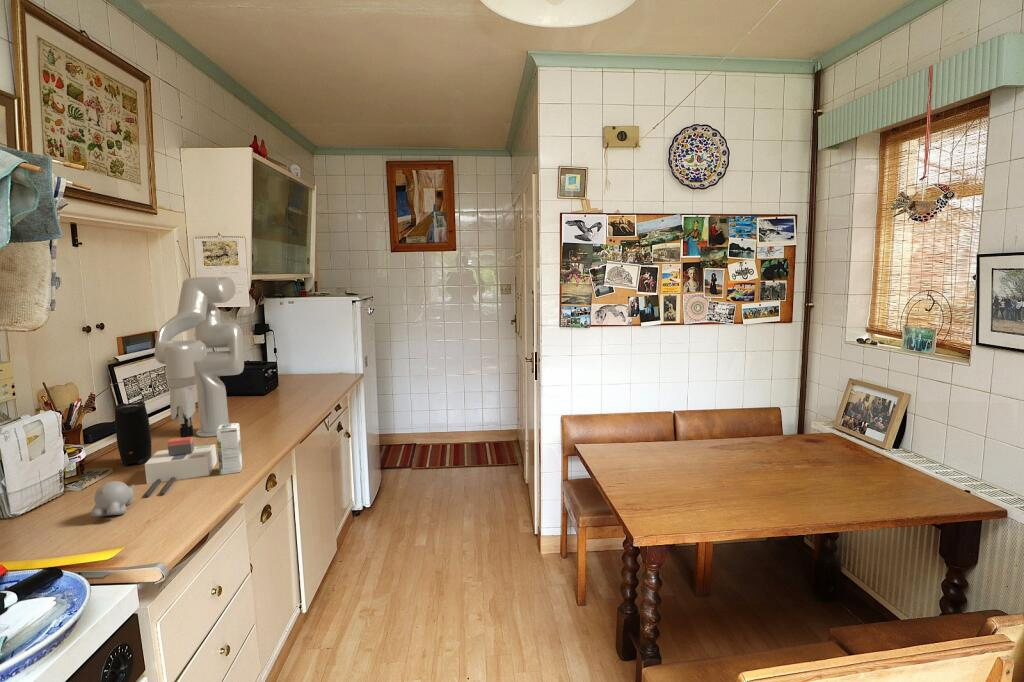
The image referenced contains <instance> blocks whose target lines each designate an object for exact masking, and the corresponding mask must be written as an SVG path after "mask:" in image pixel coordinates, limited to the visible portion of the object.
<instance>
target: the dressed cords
mask: <svg viewBox="0 0 1024 682" xmlns="http://www.w3.org/2000/svg"><path fill="white" fill-rule="evenodd" d="M175 481H176V480H175V477H172V478H171V479H170V480H169V481H167V483H166V484H165V485H164V487H163V488H162V489H161V490H160V492H159V494H160V495H161V496H164V495H165V494H166V493H167V492H168V490H169V488H170V487H171V486H172V485H173V483H174V482H175ZM161 483H162V482H161V479H157V480H156V482H155V483H152V485H151V486H150V487H149V489H148V490H147V491H146V493H145V494H144V497H145V498H149V497H150V496H151V495H152V494H153V493H154V491H155V489H157V487H158V486H159V485H160V484H161Z"/></svg>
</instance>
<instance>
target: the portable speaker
mask: <svg viewBox="0 0 1024 682" xmlns="http://www.w3.org/2000/svg"><path fill="white" fill-rule="evenodd" d="M114 415H115V416H114V426H115V427H114V428H115V436H116V442H117V449H118V453H119V457H120V461H121V465H122V466H125V467H128V466H129V465H131V464H136V463H137V464H138V465H142V464H145V463H146V462H147V461H148V460H149V459H150V458H151V457H152V435H151V434H152V433H151V428H150V427H151V426H150V419H149V415H148V412H147V408H146V402H144V401H137V402H132V403H125V402H124V403H119V404H117V405H115V406H114Z"/></svg>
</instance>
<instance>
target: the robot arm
mask: <svg viewBox="0 0 1024 682" xmlns="http://www.w3.org/2000/svg"><path fill="white" fill-rule="evenodd" d="M180 289H181V290H180V294H179V301H178V307H177V313H176V315H174V316H173V317H172V318H170V319H168V321H167V322H165V324H163V325H162V326H161V327H160V328H159V330H158V332H157V335H156V340H155V345H154V357H155V360H156V362H158V363H159V364H161V365H165V372H166V373H165V374H166V383H167V389H168V390H170V394H169V403H170V404H169V405H170V407H169V408H170V419H171V421H175V420H177V419H178V426H179V431H180V438H183V437H193V438H194V436H195V435H194V426H193V415H194V414H195V413H196V410H197V409H196V398H195V390H194V387H196V394H197V395H196V396H197V406H198V413H199V414H198V415H199V423H200V424H199V426H200V428H199V429H198V430H196V432H195V433H196V436H197V437H203V438H204V437H205V438H209V437H217V432H216V431H217V429H218V427H219V425H223V424H230V420H229V410H228V400H227V399H228V398H227V390H226V385H225V383H224V382H223V381H222V380H221V378H219V377H222V376H223V377H224V376H236V375H238V376H239V375H240V374H241V373H243V372H244V370H245V369H244V368H245V355H244V354H245V353H244V352H245V351H244V335H243V334H244V333H243V331H242V328H241V326H240V325H239V324H237V323H235V322H225V323H222V322H221V311H220V309H219V308H218V306H217V305H215V304H223V303H224V304H225V303H226V302H229V301H230V300H232V299H233V297H234V296H235V294H236V285H235V282H234V280H233V279H232V278H231V277H229V276H199V277H197V276H196V277H189V278H186V279H184V280H183V281H182V285H181V287H180ZM191 329H194V334H195V336H194V337H195V340H194V339H190V340H173V339H174V338H175V337H176V336H177V335H179V334H181V333H183V332H187V331H189V330H191ZM223 348H225V349H229V350H219V351H217V350H216V351H215V350H214V351H208V349H223Z"/></svg>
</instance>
